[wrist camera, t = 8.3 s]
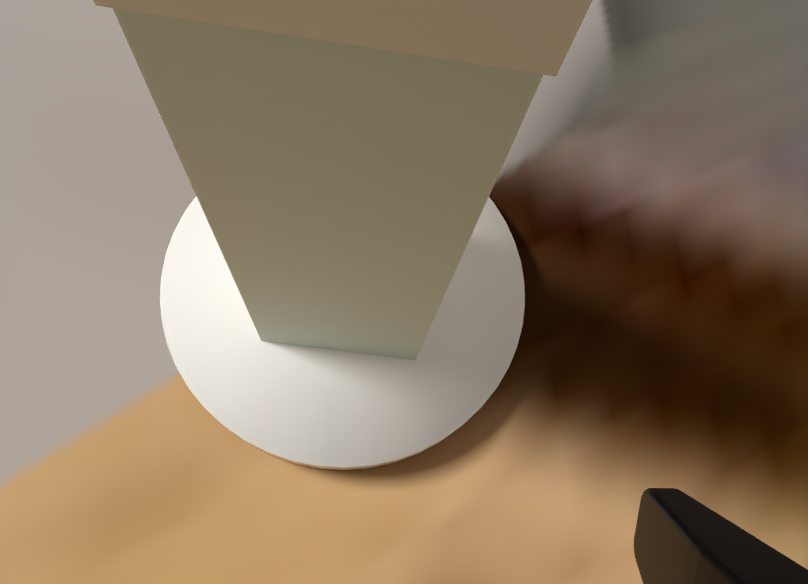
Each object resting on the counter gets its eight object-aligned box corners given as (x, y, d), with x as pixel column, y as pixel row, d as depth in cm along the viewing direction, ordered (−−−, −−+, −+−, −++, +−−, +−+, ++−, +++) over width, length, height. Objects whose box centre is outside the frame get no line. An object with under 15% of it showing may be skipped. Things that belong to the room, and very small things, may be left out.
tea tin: (418, 364, 17) (593, -3, 5) (256, 343, 17) (49, -91, 5) (432, 222, 19) (588, -300, 7) (286, 201, 19) (185, -377, 7)
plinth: (343, 555, 16) (343, 558, 15) (96, 289, 19) (80, 274, 17) (580, 297, 20) (594, 283, 19) (350, 96, 22) (351, 74, 21)
